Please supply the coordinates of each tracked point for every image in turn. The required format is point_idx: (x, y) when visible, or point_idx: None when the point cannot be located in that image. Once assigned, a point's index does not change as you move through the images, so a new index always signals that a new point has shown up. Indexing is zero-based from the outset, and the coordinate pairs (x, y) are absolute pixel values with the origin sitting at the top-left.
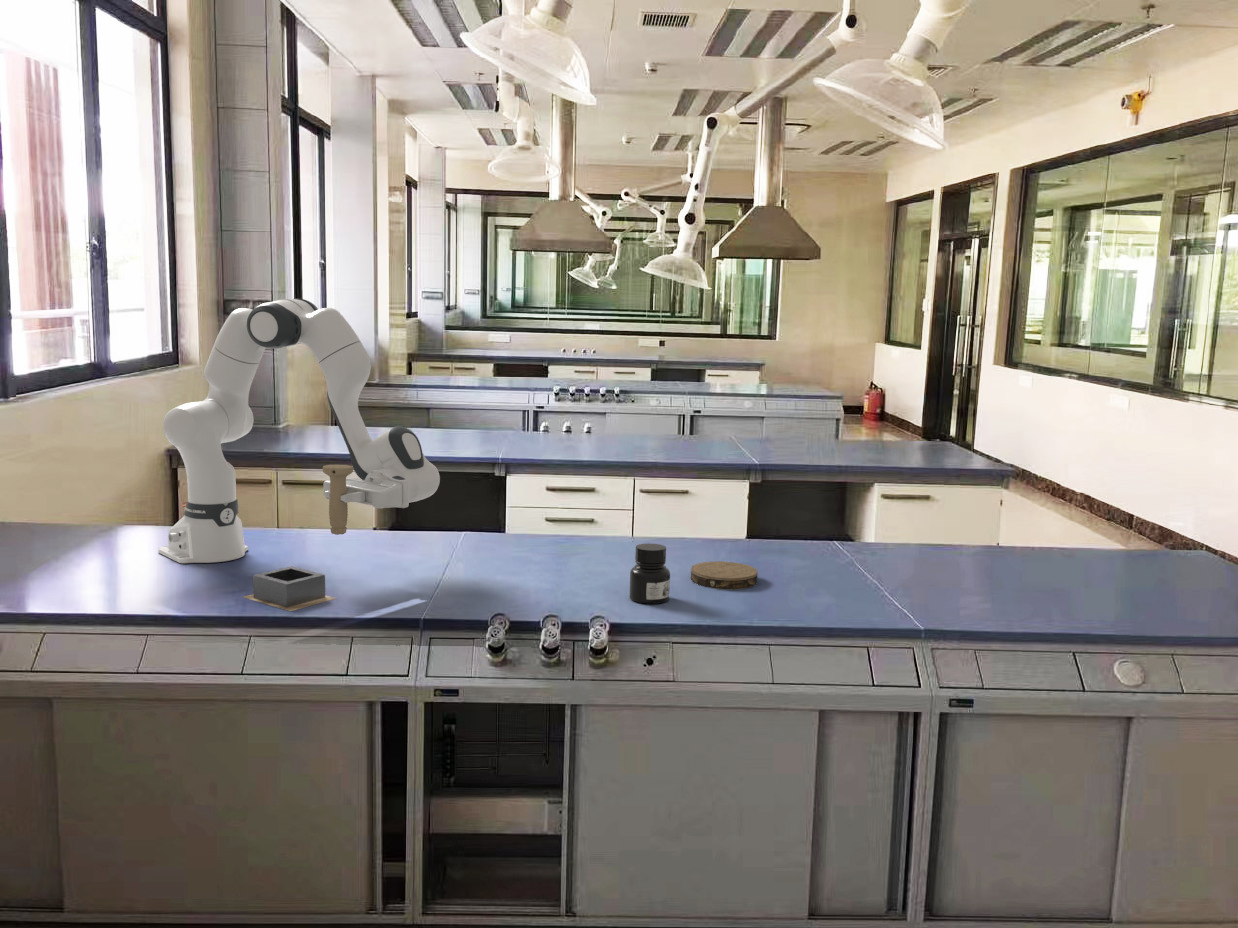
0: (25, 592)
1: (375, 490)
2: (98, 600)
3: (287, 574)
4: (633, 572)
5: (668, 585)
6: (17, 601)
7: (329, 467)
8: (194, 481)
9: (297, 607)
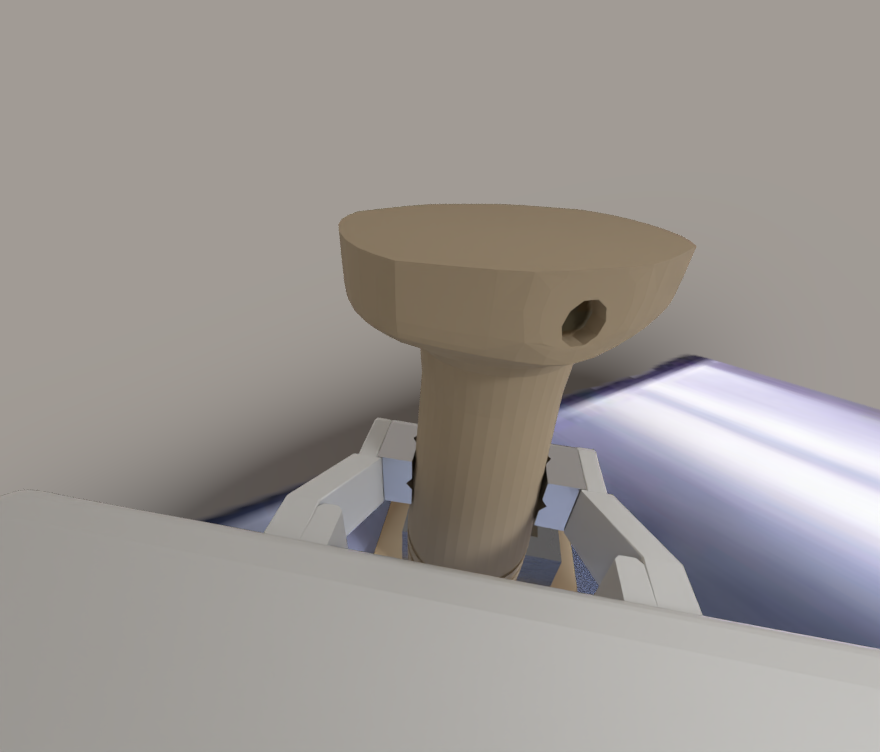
0: (826, 401)
1: (86, 514)
2: (721, 412)
3: (533, 535)
4: None
5: None
6: (769, 380)
7: (531, 210)
8: None
9: None
